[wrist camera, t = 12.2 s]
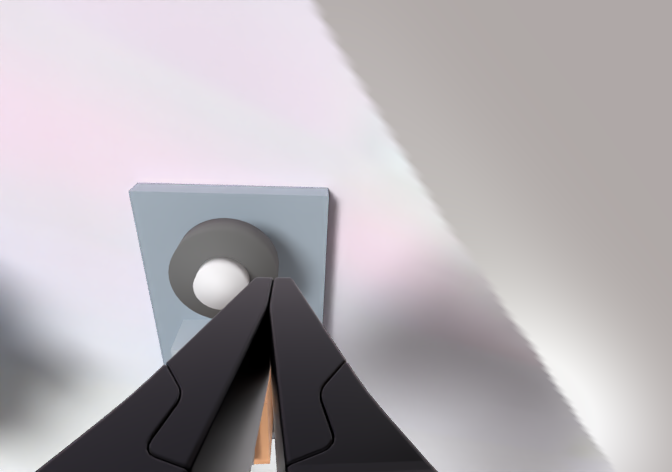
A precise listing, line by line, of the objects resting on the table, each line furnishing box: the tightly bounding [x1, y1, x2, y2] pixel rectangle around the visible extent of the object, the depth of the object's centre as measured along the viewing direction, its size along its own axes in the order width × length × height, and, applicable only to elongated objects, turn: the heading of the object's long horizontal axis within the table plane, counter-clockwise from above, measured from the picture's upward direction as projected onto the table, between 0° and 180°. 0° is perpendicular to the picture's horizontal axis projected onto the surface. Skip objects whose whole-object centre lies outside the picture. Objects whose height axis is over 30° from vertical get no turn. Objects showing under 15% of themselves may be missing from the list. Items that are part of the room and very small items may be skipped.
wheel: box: [168, 218, 279, 318], centre depth 19 cm, size 5×5×2 cm
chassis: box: [129, 183, 329, 439], centre depth 23 cm, size 16×10×4 cm, turn 177°
